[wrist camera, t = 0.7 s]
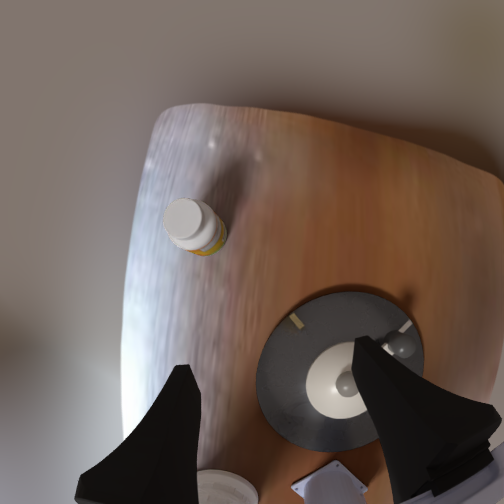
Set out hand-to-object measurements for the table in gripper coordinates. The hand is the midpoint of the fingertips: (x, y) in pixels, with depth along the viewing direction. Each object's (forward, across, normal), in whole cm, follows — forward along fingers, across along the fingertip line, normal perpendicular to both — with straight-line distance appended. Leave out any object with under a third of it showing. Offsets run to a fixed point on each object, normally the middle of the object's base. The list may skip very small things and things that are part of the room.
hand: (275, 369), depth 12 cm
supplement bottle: (+26, +5, +3) cm, 27 cm away
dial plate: (+14, -9, +20) cm, 26 cm away
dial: (+14, -11, +18) cm, 25 cm away
